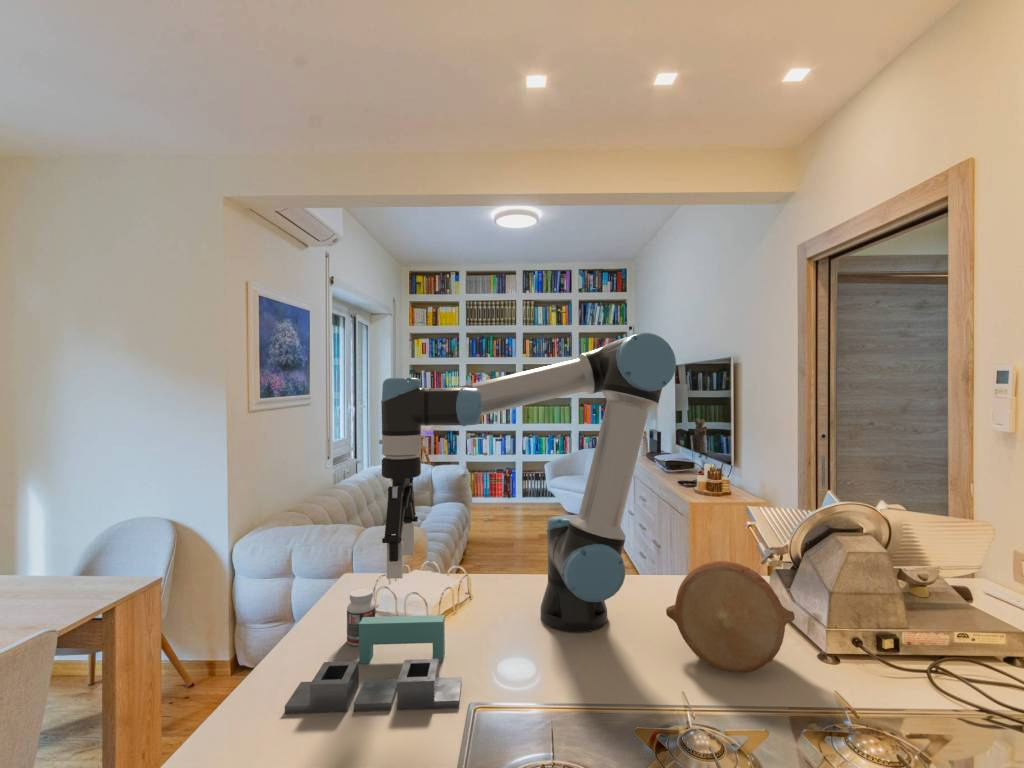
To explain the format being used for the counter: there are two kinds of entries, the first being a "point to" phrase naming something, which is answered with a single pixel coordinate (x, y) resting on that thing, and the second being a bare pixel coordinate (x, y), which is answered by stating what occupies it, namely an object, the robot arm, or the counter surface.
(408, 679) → the rail
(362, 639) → the clip
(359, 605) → the pill bottle
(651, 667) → the counter surface
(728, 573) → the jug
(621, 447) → the robot arm
